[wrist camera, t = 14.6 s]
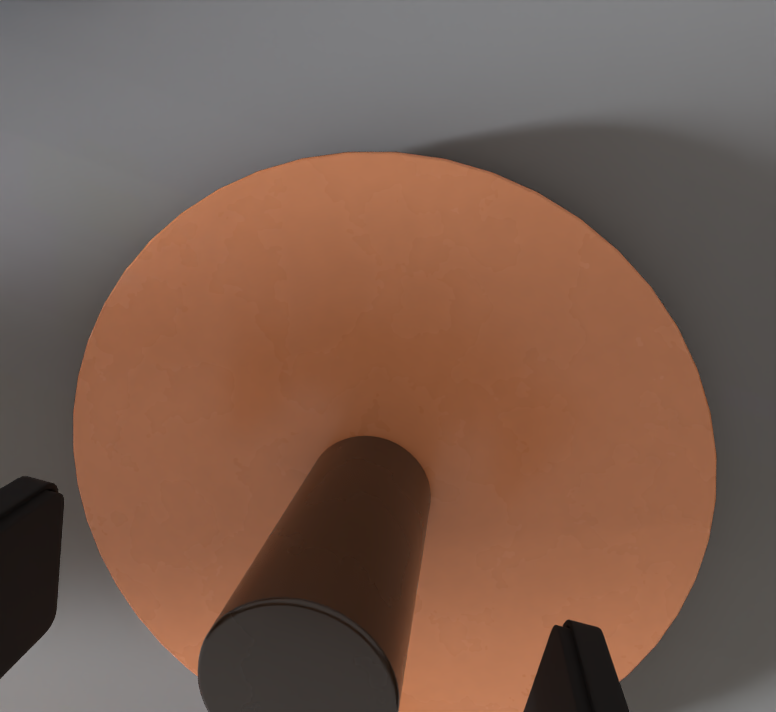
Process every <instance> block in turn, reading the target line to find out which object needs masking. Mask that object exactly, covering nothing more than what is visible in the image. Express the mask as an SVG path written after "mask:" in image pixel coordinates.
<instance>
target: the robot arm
mask: <svg viewBox="0 0 776 712" xmlns="http://www.w3.org/2000/svg"><path fill="white" fill-rule="evenodd" d="M63 509H64V497H63V495H62V494H60V493H58V488H57V486H56V485H55V484H54V483H50V482H47V481H43V480H39V479H35V478H31V477H28V476H22V477H20V478H18V479H16V480H14V481H13V482H11V483H9V484H8V485H6V486H4V487H3V488H1V489H0V679H1V677H2V676H3V675H4V674H5V673H6V672H7V671H8V670H9V669H10V668H11V667H12V666H13V665H14V664H15V663H16V662H17V661H18V660H19V659H20V658H21V657H22V656H23V655H24V654H25V653H26V652H27V651H28V650H29V649H30V648H31V647H32V646H33V645H34V644H35V643H36V642H37V641H38V640H39V639H40V638H41V637H42V636H43V635H44V634H45V633H46V632H47V630H48V629H49V628H50V626H51V625H52V623H53V620H54V618H55V615H56V610H57V597H58V582H59V568H60V553H61V538H62V524H63ZM523 712H629V709H628V706H627V703H626V700H625V697H624V694H623V691H622V688H621V685H620V682H619V679H618V676H617V673H616V670H615V667H614V664H613V661H612V658H611V655H610V652H609V649H608V646H607V643H606V640H605V637H604V634H603V632H602V630H601V629H600V628H599V627H596V626H592V625H588V624H584V623H581V622H577V621H573V620H569V619H568V620H566V621H565V623H564V624H563V627H562V626H558V625H554V626H553V628H552V630H551V633H550V636H549V639H548V641H547V644H546V647H545V650H544V653H543V656H542V659H541V662H540V665H539V668H538V671H537V674H536V676H535V679H534V682H533V685H532V688H531V691H530V694H529V697H528V700H527V703H526V706H525V708H524V711H523Z"/></svg>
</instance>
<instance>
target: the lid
mask: <svg viewBox="0 0 776 712" xmlns="http://www.w3.org/2000/svg"><path fill="white" fill-rule="evenodd" d="M73 451H74V459H75V467H76V475H77V482H78V488H79V492H80V495H81V499H82V503H83V507H84V511H85V515H86V519H87V522H88V524H89V527H90V530H91V532H92V535H93V537H94V540H95V542H96V545H97V547H98V550H99V553H100V555H101V557H102V559H103V561H104V562H105V564H106V566H107V568H108V570H109V572H110V574H111V576H112V577H113V579H114V581H115V583H116V585H117V587H118V588H119V590H120V591H121V593H122V594H123V595H124V597H125V598H126V600H127V601H128V603H129V604H130V606H131V607H132V609H133V610H134V612H135V613H136V615H137V616H138V617H139V618H140V619H141V621H142V622H143V623H144V624H145V625H146V626H147V628H148V629H149V630H150V631H151V632H152V633H153V635H154V636H155V637H156V638H157V639H158V640H159V642H160V643H161V644H162V645H163V646H164V647H165V648H166V649H167V650H169V651H170V652H171V653H172V654H173V655H174V656H175V657H176V658H177V659H178V660H179V661H180V662H181V663H182V664H183V665H184V666H185V667H186V668H188V669H189V670H190V671H192V672H193V673H194V674H195V675H197V676H198V684H199V688H200V692H201V696H202V699H203V701H204V704H205V706H206V708H207V710H208V712H523V711H524V708H525V706H526V703H527V700H528V697H529V694H530V691H531V688H532V685H533V682H534V679H535V676H536V674H537V671H538V668H539V665H540V662H541V659H542V656H543V653H544V650H545V647H546V644H547V641H548V639H549V636H550V633H551V630H552V628H553V626H554V625H558V626H562V627H563V624H564V623H565V621H566V620H568V619H569V620H573V621H577V622H581V623H584V624H588V625H592V626H596V627H599V628H600V629H601V630H602V632H603V634H604V637H605V640H606V643H607V646H608V649H609V652H610V655H611V658H612V661H613V664H614V667H615V670H616V673H617V676H618V679H619V682H620V681H621V680H622V679H624V678H625V677H626V676H627V675H629V674H630V673H631V672H632V671H633V670H634V668H635V667H636V666H637V665H638V664H639V663H640V662H641V661H642V660H643V659H644V658H645V657H646V656H647V655H648V654H649V653H650V652H651V650H652V649H653V648H654V647H655V646H656V645H657V643H658V642H659V641H660V639H661V638H662V636H663V635H664V634H665V632H666V631H667V629H668V628H669V626H670V625H671V624H672V622H673V621H674V619H675V618H676V617H677V615H678V614H679V612H680V610H681V608H682V606H683V604H684V602H685V600H686V598H687V596H688V594H689V592H690V590H691V588H692V586H693V584H694V582H695V580H696V578H697V575H698V572H699V569H700V566H701V563H702V560H703V557H704V554H705V550H706V547H707V544H708V541H709V537H710V531H711V525H712V519H713V513H714V507H715V501H716V448H715V441H714V434H713V427H712V420H711V413H710V409H709V406H708V402H707V399H706V396H705V392H704V389H703V386H702V382H701V379H700V376H699V372H698V369H697V367H696V365H695V362H694V360H693V358H692V356H691V354H690V352H689V350H688V348H687V346H686V343H685V341H684V339H683V337H682V335H681V333H680V331H679V329H678V326H677V325H676V323H675V322H674V320H673V319H672V317H671V316H670V314H669V313H668V311H667V310H666V308H665V307H664V305H663V304H662V302H661V301H660V299H659V298H658V296H657V295H656V293H655V292H654V290H653V289H652V287H651V286H650V285H649V284H648V283H647V282H646V281H645V279H644V278H643V277H642V276H641V275H640V274H639V273H638V272H637V271H636V269H635V268H634V267H633V266H632V265H631V264H630V263H629V262H628V261H627V259H626V258H625V257H624V256H623V255H622V254H621V253H620V252H619V251H618V250H617V249H616V248H615V247H614V246H612V245H611V244H610V243H609V242H608V241H606V240H605V239H604V238H603V237H602V236H600V235H599V234H598V233H597V232H596V231H595V230H593V229H592V228H591V227H590V226H589V225H587V224H586V223H585V222H584V221H583V220H581V219H580V218H578V217H577V216H575V215H574V214H572V213H570V212H569V211H567V210H566V209H564V208H562V207H561V206H559V205H557V204H556V203H554V202H553V201H551V200H549V199H548V198H546V197H545V196H543V195H541V194H540V193H538V192H536V191H534V190H531V189H529V188H527V187H525V186H522V185H520V184H518V183H516V182H513V181H511V180H509V179H507V178H504V177H502V176H500V175H498V174H495V173H493V172H490V171H486V170H483V169H479V168H476V167H472V166H469V165H465V164H462V163H458V162H455V161H451V160H448V159H444V158H436V157H429V156H422V155H415V154H408V153H401V152H344V153H337V154H330V155H323V156H315V157H308V158H302V159H298V160H295V161H291V162H288V163H284V164H281V165H278V166H274V167H271V168H267V169H264V170H260V171H257V172H255V173H253V174H251V175H249V176H246V177H244V178H242V179H240V180H238V181H235V182H233V183H231V184H229V185H227V186H225V187H222V188H220V189H218V190H216V191H215V192H213V193H212V194H210V195H209V196H207V197H206V198H204V199H202V200H201V201H199V202H198V203H196V204H195V205H193V206H192V207H190V208H189V209H187V210H185V211H184V212H182V213H181V214H180V215H179V216H178V217H177V218H175V219H174V220H173V221H172V222H171V223H170V224H169V225H167V226H166V227H165V228H164V229H163V230H162V231H161V232H159V233H158V234H157V235H156V236H155V237H154V238H153V239H152V240H151V241H150V242H149V243H148V244H147V245H146V246H145V248H144V249H143V250H142V251H141V252H140V254H139V255H138V256H137V257H136V258H135V259H134V261H133V262H132V263H131V264H130V265H129V266H128V268H127V269H126V270H125V271H124V273H123V274H122V276H121V278H120V279H119V281H118V283H117V284H116V286H115V287H114V289H113V291H112V292H111V294H110V295H109V297H108V299H107V300H106V302H105V303H104V305H103V307H102V310H101V312H100V314H99V316H98V319H97V321H96V323H95V326H94V328H93V330H92V332H91V335H90V337H89V339H88V343H87V346H86V350H85V353H84V357H83V361H82V364H81V368H80V371H79V375H78V381H77V389H76V396H75V403H74V411H73Z"/></svg>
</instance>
